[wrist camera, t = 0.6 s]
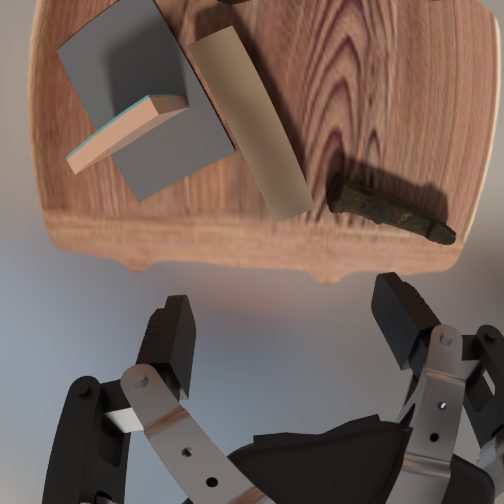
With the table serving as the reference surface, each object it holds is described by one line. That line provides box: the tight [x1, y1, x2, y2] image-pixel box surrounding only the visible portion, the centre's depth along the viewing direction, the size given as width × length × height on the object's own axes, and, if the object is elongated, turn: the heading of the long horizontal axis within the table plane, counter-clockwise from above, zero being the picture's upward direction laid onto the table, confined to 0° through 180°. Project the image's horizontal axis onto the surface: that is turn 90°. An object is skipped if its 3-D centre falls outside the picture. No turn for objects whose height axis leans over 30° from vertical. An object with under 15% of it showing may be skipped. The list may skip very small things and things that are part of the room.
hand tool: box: [327, 172, 456, 245], centre depth 29 cm, size 19×4×5 cm, turn 73°
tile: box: [66, 94, 189, 174], centre depth 20 cm, size 8×2×10 cm, turn 115°
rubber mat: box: [57, 0, 236, 202], centre depth 23 cm, size 12×22×1 cm, turn 25°
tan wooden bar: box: [187, 26, 316, 223], centre depth 23 cm, size 4×18×5 cm, turn 24°
